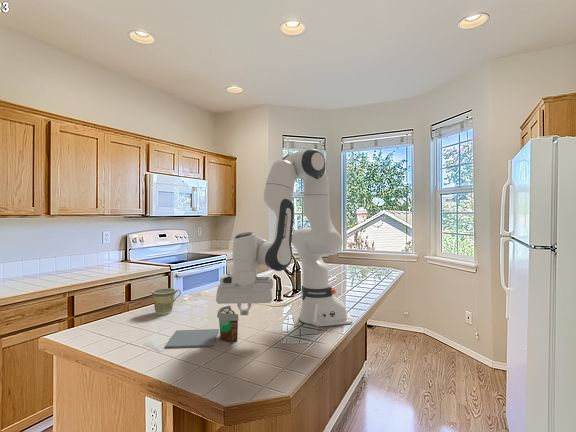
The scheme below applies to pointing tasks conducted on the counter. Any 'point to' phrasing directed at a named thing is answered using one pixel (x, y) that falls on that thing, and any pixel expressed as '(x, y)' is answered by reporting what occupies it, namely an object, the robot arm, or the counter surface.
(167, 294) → the ceramic cup
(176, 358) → the counter surface
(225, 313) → the food container
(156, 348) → the butter knife
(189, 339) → the mat
